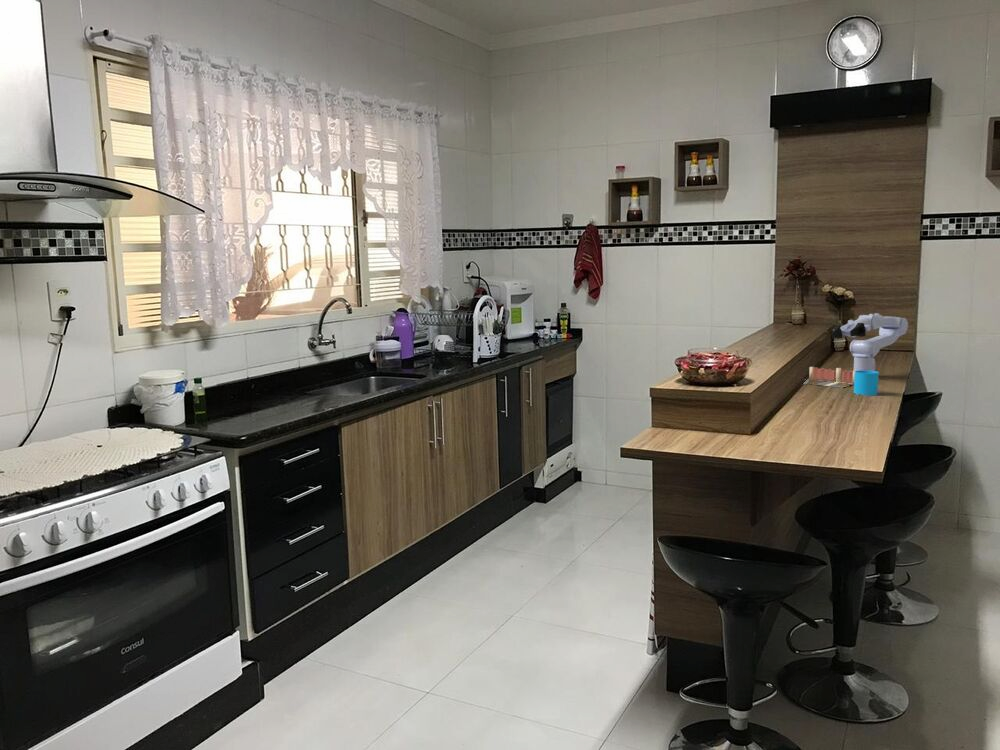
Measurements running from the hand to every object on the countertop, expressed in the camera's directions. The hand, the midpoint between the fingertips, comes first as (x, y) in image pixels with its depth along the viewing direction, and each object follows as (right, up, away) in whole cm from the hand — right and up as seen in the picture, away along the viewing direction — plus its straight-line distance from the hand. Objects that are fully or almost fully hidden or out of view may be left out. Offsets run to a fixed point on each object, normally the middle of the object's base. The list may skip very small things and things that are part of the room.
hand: (841, 334), depth 324 cm
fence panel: (-5, -18, +8) cm, 20 cm away
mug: (+1, -23, -20) cm, 30 cm away
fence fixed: (+2, -20, +1) cm, 20 cm away
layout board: (-2, -19, +5) cm, 20 cm away
